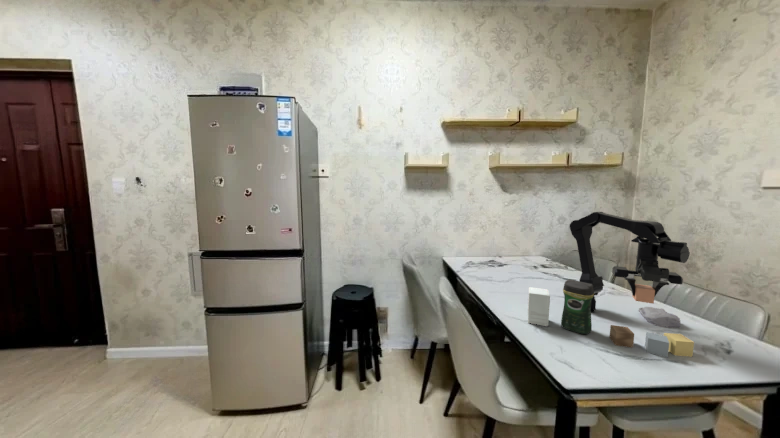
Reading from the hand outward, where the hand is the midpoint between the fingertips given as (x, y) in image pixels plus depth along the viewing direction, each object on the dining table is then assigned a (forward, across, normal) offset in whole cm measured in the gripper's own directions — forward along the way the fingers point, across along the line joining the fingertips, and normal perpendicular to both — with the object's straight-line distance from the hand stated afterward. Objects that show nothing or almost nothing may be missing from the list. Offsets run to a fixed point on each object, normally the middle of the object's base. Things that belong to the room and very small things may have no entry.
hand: (642, 297), depth 107 cm
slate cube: (+13, +1, -15) cm, 20 cm away
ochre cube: (+13, +7, -12) cm, 19 cm away
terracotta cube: (+1, 0, 0) cm, 1 cm away
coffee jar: (+13, -21, -10) cm, 27 cm away
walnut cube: (+13, -8, -14) cm, 21 cm away
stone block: (+14, +8, +14) cm, 21 cm away
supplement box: (+13, -34, -10) cm, 38 cm away
